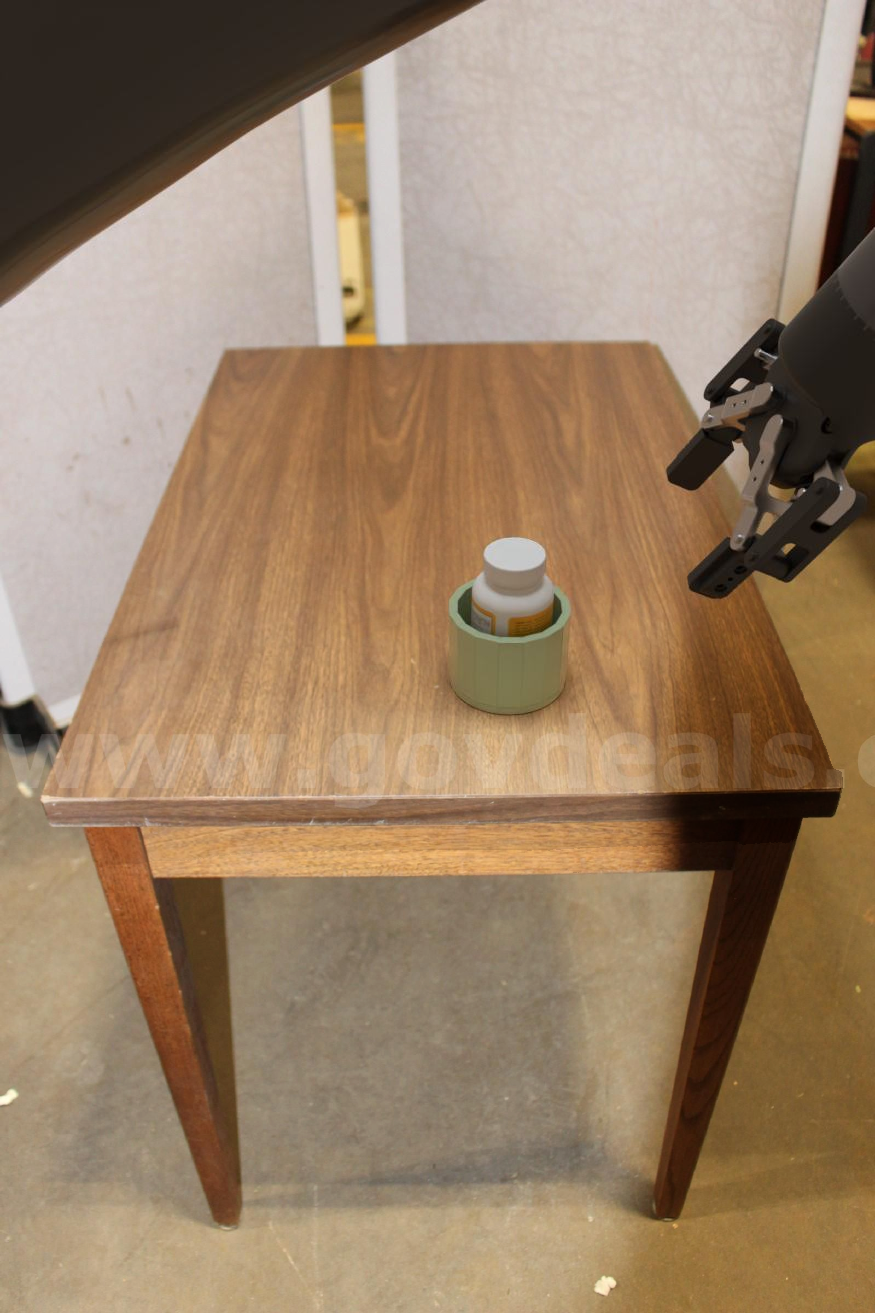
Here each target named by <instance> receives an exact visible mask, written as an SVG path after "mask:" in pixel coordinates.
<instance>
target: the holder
mask: <svg viewBox="0 0 875 1313" xmlns="http://www.w3.org/2000/svg"><path fill="white" fill-rule="evenodd" d="M476 578H477V577H475V578H472V579H471V580H469V581H467V582H465V583H464V584H462V585H459V587H458V588H457V589H456V590H455V591H454V593H453V594H452V595H451V597H450V598H449V599H448V661H449V662H448V666H449V667H448V676H449V684H450V686H451V688H452V691H453V692H454V693H455V694H456V696H457V697H458V698H459V699H461V700H462V701H463V702H465V704H467V705H469V706H471V707H473V708H475V709H477V710H480V711H483V712H487V713H491V714H497V715H508V716H509V715H521V714H528V713H533V712H535V711H538V710H540V709H543V708H545V707H547V706H549V705H550V704H552V703H554V702H555V701H556V699H558V697H559V696H560V695H561V694H562V692H563V690H564V688H565V685H566V679H567V674H568V662H569V650H570V648H569V646H570V636H571V635H570V634H571V623H572V622H571V621H572V609H571V608H572V607H571V603H570V599H569V598H568V597H567V595H566V594H565V593H564V592H563V591H562V590H561V588H560V587H559V586H557V585H555V584H553V583H552V585H553V588H554V602H553V615H552V626H551V627H549V628H548V629H546V630H545V631H543V632H541V633H537V634H533V635H529V636H525V637H498V636H494V635H490V634H486V633H482V632H479V631H477V630H476V629H474V628H472V627H471V609H472V587H473V584H474V581H475V580H476Z"/></svg>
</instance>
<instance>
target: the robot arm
mask: <svg viewBox="0 0 875 1313" xmlns="http://www.w3.org/2000/svg"><path fill="white" fill-rule="evenodd" d="M486 1H487V0H0V309H1V308H2V307H4V306H5V305H7V304H8V303H10V302H11V301H12V300H14V299H15V298H16V297H18V296H19V295H20V294H21V293H23V292H24V291H25V290H27V289H28V288H29V287H31V286H32V285H33V284H34V283H35V282H36V281H38V280H39V279H40V278H41V277H43V276H44V275H45V274H46V273H48V272H49V271H50V270H52V269H53V268H54V267H55V266H56V265H58V264H59V263H61V262H62V261H63V260H64V259H66V258H67V257H69V256H70V255H71V254H72V253H74V252H75V251H77V250H78V249H80V248H81V247H83V246H84V245H85V244H86V243H89V241H91V240H92V239H93V238H96V236H98V235H100V234H101V233H103V232H104V231H106V230H107V229H109V228H110V227H112V226H113V225H114V224H116V223H117V222H119V221H120V220H122V219H124V218H125V217H126V216H128V215H130V214H131V213H133V212H134V211H135V210H137V209H139V208H140V207H141V206H144V205H145V204H146V203H148V202H150V200H152V199H153V198H155V197H157V196H158V195H159V194H161V193H162V192H164V191H165V190H167V189H169V188H170V187H171V186H173V185H174V184H176V183H177V182H179V181H180V180H182V179H183V178H185V177H187V175H189V174H191V173H192V172H193V171H195V170H196V169H198V168H199V167H200V166H202V165H203V164H205V163H206V162H208V161H209V160H210V159H212V158H213V157H215V156H216V155H218V154H219V153H221V152H222V151H224V150H225V149H227V148H229V147H230V146H231V145H232V144H234V143H236V142H237V141H239V140H240V139H241V138H243V137H244V136H246V135H248V134H249V133H251V132H252V131H254V130H255V129H257V128H259V127H261V126H262V125H264V124H265V123H267V122H269V121H271V120H272V119H274V118H276V117H278V116H279V115H281V114H282V113H284V112H285V111H287V110H289V109H291V108H293V107H294V106H296V105H297V104H300V103H301V102H303V101H305V100H307V99H308V98H310V97H312V96H314V95H315V94H317V93H319V92H321V91H322V90H324V89H326V88H328V87H329V86H332V85H333V84H335V83H337V82H339V81H341V80H342V79H344V78H346V77H348V76H350V75H352V74H354V73H356V72H357V71H360V70H361V69H363V68H365V67H366V66H369V65H370V64H372V63H374V62H376V61H378V60H379V59H381V58H383V57H385V56H387V55H389V54H390V53H392V52H394V51H397V50H398V49H400V48H402V47H404V46H405V45H407V44H409V43H411V42H413V41H415V40H417V39H419V38H420V37H423V36H424V35H426V34H427V33H430V32H431V31H433V30H435V29H437V28H439V27H440V26H442V25H444V24H446V23H448V22H450V21H451V20H453V19H455V18H457V17H460V16H461V15H463V14H465V13H466V12H468V11H470V10H472V9H474V8H476V7H477V6H479V5H481V4H483V3H485V2H486ZM740 379H744V380H746V381H748V382H747V383H745V385H744V386H743V387H742V388H741V389H740V390H738V389H736V388H734V387H732V386H733V385H734V384H735V383H736V382H737V381H738V380H740ZM702 396H703V399H704V400H705V401H707V402H709V408H708V409H707V410H706V411H705V412H704V414H703V416H702V418H701V422H700V424H701V428H700V429H699V430H698V431H697V432H696V433H695V434H694V435H693V437H691V439H690V440H689V441H688V443H686V444H685V446H684V447H683V448H682V449H681V450H680V451H679V452H678V454H677V455H676V457H675V458H674V459H673V460H672V462H671V463H670V464H669V465H668V466H667V467H666V469H665V472H666V477H667V478H666V479H667V481H668V482H669V483H670V484H672V485H674V486H676V487H678V488H682V489H684V490H686V491H688V492H692V491H696V490H698V489H699V488H701V486H702V485H704V483H706V481H707V480H708V479H709V478H710V477H711V476H712V475H713V474H714V473H715V472H716V470H718V469H719V467H721V465H723V463H724V462H725V461H727V459H728V458H729V457H730V456H731V455H732V454H733V453H734V452H735V447H734V446H735V445H734V443H735V444H742V446H743V447H744V448H745V450H746V451H747V452H748V468H749V472H750V473H749V474H748V477H747V479H746V481H745V484H744V486H743V488H742V490H741V493H740V500H741V502H742V504H743V508H742V511H741V513H740V516H739V518H738V520H737V523H736V525H735V527H734V529H733V532H732V535H731V536H730V537H729V536H725V538H724V539H723V540H722V541H721V542H720V543H719V544H718V545H716V547H715V548H714V549H713V550H711V552H709V553H708V554H707V556H705V557H704V558H703V559H702V560H701V562H699V563H698V564H697V565H696V566H695V567H693V569H692V570H691V571H690V572H689V573H688V574H687V576H686V580H687V585H688V590H689V591H691V592H692V593H695V594H698V595H700V596H703V597H706V598H709V599H713V600H717V599H719V600H722V599H725V598H727V597H728V596H729V595H730V594H731V593H733V592H734V590H736V589H737V588H738V587H739V586H740V585H741V584H742V583H744V581H745V580H747V579H748V578H749V577H750V576H751V575H752V574H754V573H755V572H759V573H761V574H764V575H767V576H769V577H772V578H775V579H776V580H777V581H779V582H782V583H785V584H787V583H788V584H789V583H791V582H792V581H793V580H794V579H795V578H797V577H798V576H799V575H800V574H801V573H802V572H803V571H804V570H805V569H806V568H807V567H808V566H809V565H810V564H811V563H813V561H814V560H816V558H817V557H818V556H819V555H820V554H822V553H823V552H824V551H825V550H826V549H827V548H828V547H829V546H830V545H831V544H833V542H834V541H835V540H836V539H837V538H838V537H839V536H841V534H843V533H844V531H845V530H847V529H848V528H849V527H850V526H851V525H852V524H853V523H854V522H855V521H856V520H857V519H858V518H860V516H861V515H862V514H863V513H864V512H865V510H866V508H867V505H868V497H867V496H866V494H864V493H861V492H860V491H857V490H855V489H854V488H852V487H851V486H850V484H849V482H848V480H847V477H846V475H845V473H844V471H845V469H847V466H848V464H849V462H850V461H851V459H852V457H853V456H854V454H855V453H856V452H857V450H859V449H860V447H862V446H864V445H865V444H867V443H870V442H875V226H874V227H873V229H872V230H870V232H869V233H868V234H867V235H866V236H865V237H864V239H863V240H861V242H860V243H859V244H858V245H857V246H856V248H855V249H854V250H853V251H852V252H851V253H850V254H849V255H848V257H846V258H845V260H844V261H843V262H842V263H841V264H840V266H839V267H837V269H836V270H835V271H834V272H833V273H832V275H830V277H829V278H828V279H827V280H826V281H825V282H824V283H823V284H822V286H821V287H820V288H819V289H818V290H817V291H816V292H815V294H813V296H812V297H811V298H810V299H809V300H808V301H807V302H806V304H804V306H803V307H802V308H801V309H800V310H799V311H798V313H796V314H795V316H793V318H792V319H791V320H790V322H788V324H785V323H783V322H781V321H779V320H777V319H776V318H773V317H771V318H769V319H766V321H765V322H763V324H762V325H761V326H760V327H759V328H758V330H757V331H755V333H753V335H752V336H751V337H750V338H749V339H748V340H747V341H746V342H745V344H743V346H742V347H740V349H739V350H738V351H737V352H736V353H735V354H734V355H733V356H732V357H731V358H730V360H728V361H727V362H726V364H725V365H724V366H723V367H722V368H721V369H720V371H718V372H717V373H716V375H715V376H714V377H713V378H712V379H711V380H710V381H709V382H708V383H707V384H706V386H705V388H704V390H703V395H702ZM770 486H772V487H775V488H776V489H777V488H778V489H780V490H793V489H794V492H793V493H792V496H791V498H790V499H789V500H788V501H784V500H781V499H778V498H776V497H775V496H772V495H771V493H770V492H769V487H770ZM765 514H770V515H771V516H772V517H773V519H772V520H773V521H772V523H771V525H770V526H769V527H768V529H767V530H765V531H764V533H763V534H760V533H757V531H758V529H759V527H760V524H761V522H762V520H763V518H764V516H765ZM789 544H790V545H791V544H792V545H794V546H793V547H792V548H790V550H789V551H787V553H785V552H784V550H785V548H786V545H789Z"/></svg>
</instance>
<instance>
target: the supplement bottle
mask: <svg viewBox="0 0 875 1313" xmlns="http://www.w3.org/2000/svg"><path fill="white" fill-rule="evenodd" d="M482 557H483V558H482V571H481V572H480V573H479V574H478V576H477V577H475V578H476V580H475V581H474V584H473V587H472V609H471V627H472V628H474V629H476V630H477V631H479V632H482V633H486V634H490V635H494V636H498V637H525V636H529V635H533V634H537V633H541V632H543V631H545V630H546V629H548V628H549V627H551V626H552V615H553V602H554V588H553V585H554V584H553V582H552V580H551V579H550V578H549V576H547V574H546V572H547V552H546V550H545V548H544V547H543V546H542V545H541V544H539V543H538V542H537V541H534V540H531V539H529V538H524V537H515V536H513V537H512V536H511V537H504V538H500V539H499V538H498V539H496V540H494V541H492V542H490V543H489V544H488V545H487V546H486V547H484V550H483V556H482ZM552 584H553V585H552Z"/></svg>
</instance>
